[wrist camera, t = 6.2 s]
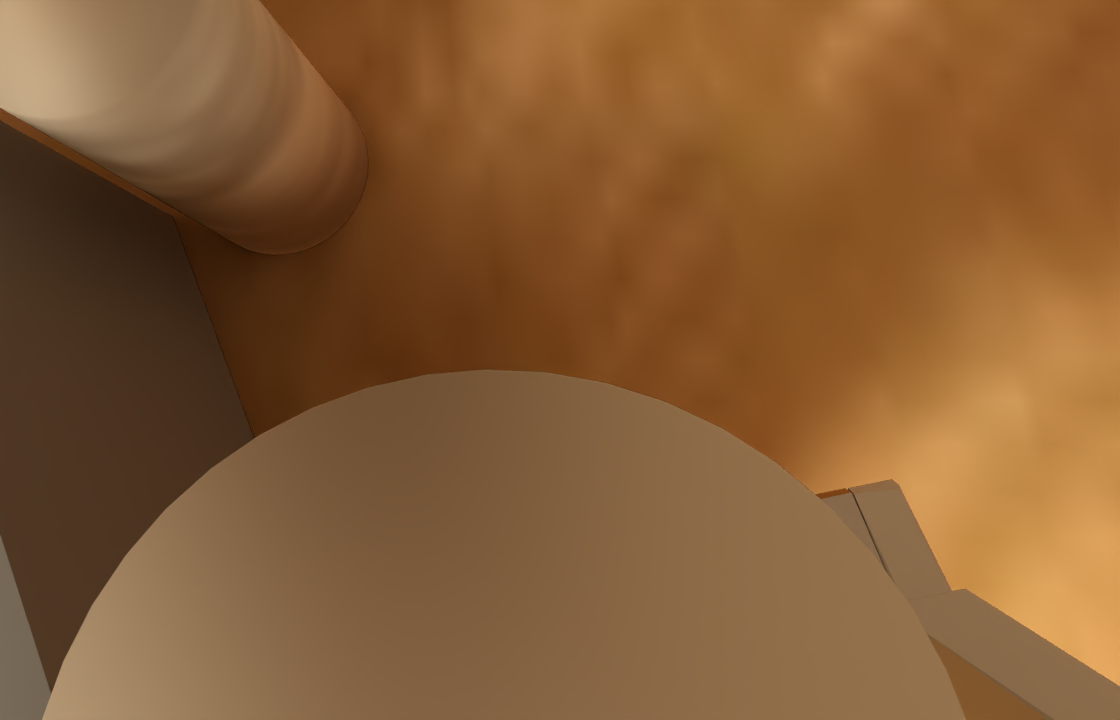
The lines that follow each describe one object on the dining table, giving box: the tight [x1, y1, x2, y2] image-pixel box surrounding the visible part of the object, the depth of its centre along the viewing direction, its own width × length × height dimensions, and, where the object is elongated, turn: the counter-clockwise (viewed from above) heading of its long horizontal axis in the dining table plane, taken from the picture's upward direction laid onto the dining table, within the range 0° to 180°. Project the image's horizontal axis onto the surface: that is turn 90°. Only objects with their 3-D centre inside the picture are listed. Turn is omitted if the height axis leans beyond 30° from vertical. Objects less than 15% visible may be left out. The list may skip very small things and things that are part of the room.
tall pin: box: [42, 369, 966, 720], centre depth 13 cm, size 4×4×18 cm
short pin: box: [0, 0, 368, 255], centre depth 20 cm, size 4×4×9 cm
